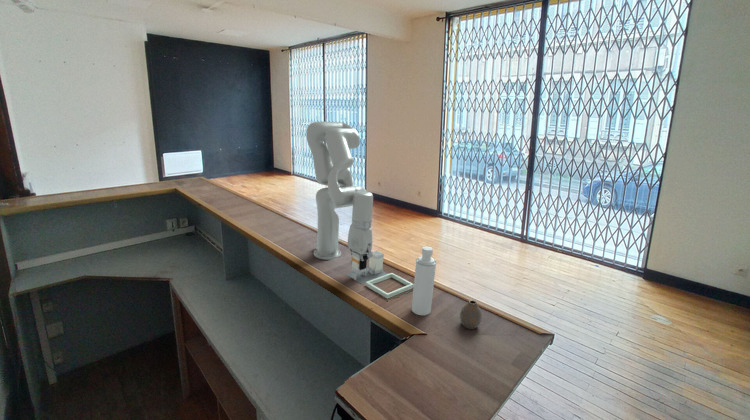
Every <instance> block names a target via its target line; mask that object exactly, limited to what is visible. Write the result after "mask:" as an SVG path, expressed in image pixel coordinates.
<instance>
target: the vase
mask: <svg viewBox="0 0 750 420" xmlns="http://www.w3.org/2000/svg"><path fill="white" fill-rule="evenodd" d="M459 319H460V323H461V325H462V326H463V327H464V328H466V329H469V330H474V329H476V328H478V327H479V326H480V324H481V323H482V319H483V315H482V310H481V309H480V307H479V305H478V303H477V301H476V300H473V299H471V300H469V301H468V302H467V303H466V304H465V305H463V307H462V308H461V311H460V313H459Z"/></svg>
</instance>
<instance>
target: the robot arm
mask: <svg viewBox="0 0 750 420" xmlns="http://www.w3.org/2000/svg"><path fill="white" fill-rule="evenodd" d="M305 132H306V136H305V137H306V141H307V145H308V147H309V149H310V150H309V151H311V155H312V160H313V165H314V166H313V167H314V172H315V173H314V175H315V179H316V181H317V183H318V184H319V185H324V186H325V185H326V187H322V188H320V189H319V190H317V192H316V194H315V202H316V210H317V211H316V212H317V232H316V233H317V234H316V235H317V237H316V239H317V241H316V242H314V243H313V244H314V246H316V249H315V250H313V256H314V257H315V258H317V259H320V260H323V261H324V260H325V261H326V260H327V261H328V260H329V261H330V260H334V259H339V258H340V257H341V256H342V251H341V250H340V249H339V237H340V236H339V234H340V230H339V228H340V218H339V215H338V213H337V212H336V211H335V210H336V209H341V208H349V207H351V206H352V210H351V211H352V214H351V224H350V226H349V228H348V229H349V230H348V235H347V247H348V248H349V250H350V255H351V256H352V251H355V252H357V253H358V254H360V255H361V260H360V264H359V270H363V269H366V267H367V263H368V261H369V259H370V257H373V255H372V252H373V251H372V250H373V230H372V229H373V228H372V220H373V219H372V218H373V206H374V205H373V204H374V195H373V192H370V191H368V190H366V189H365V188H364V187H363V186H361V185H356V186H354V182H353V175H352V171H351V169H350V167H351V166H353V164H354V159H353V155H352V152H351V149H356V148H358V147H359V145H360V142H361V139H360V134H359V132H358V131H357V130H356V128H354V127H353V126H350V125H349V124H347V123H345V122H343V121H342V122H341V121H313V122H311V123H309V124H308V125H307V129H306V131H305ZM324 142H325V143H326V144H325V143H324ZM364 254H365V256H364Z"/></svg>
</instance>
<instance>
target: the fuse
mask: <svg viewBox="0 0 750 420" xmlns="http://www.w3.org/2000/svg"><path fill="white" fill-rule="evenodd" d="M372 255H373V257H370V258H368V261H369V262H368V267H370V268H372V269H374V270H373V273H374V274H378V273H381V272H383V271H384V268H383V266H384V257H385V254H384V253H382V252H380V251H378V250H375V251H372Z"/></svg>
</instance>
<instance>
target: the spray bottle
mask: <svg viewBox="0 0 750 420" xmlns="http://www.w3.org/2000/svg"><path fill="white" fill-rule="evenodd" d="M433 252H434V249H433V247H431V246H428V245H427V246H422V248H421V256H419V257H417V258H416V259H415V260H416V261H415V270H414V279H413V284H414V288H412V290H413V291H412V301H411V312H413V313H414V314H415V315H419V316H427V315H429V314H431V310H432V301H433V294H434V284H435V278H436V276H435V275H436V268H437V260H435V259H434V258H433V257H432V256H433Z"/></svg>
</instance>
